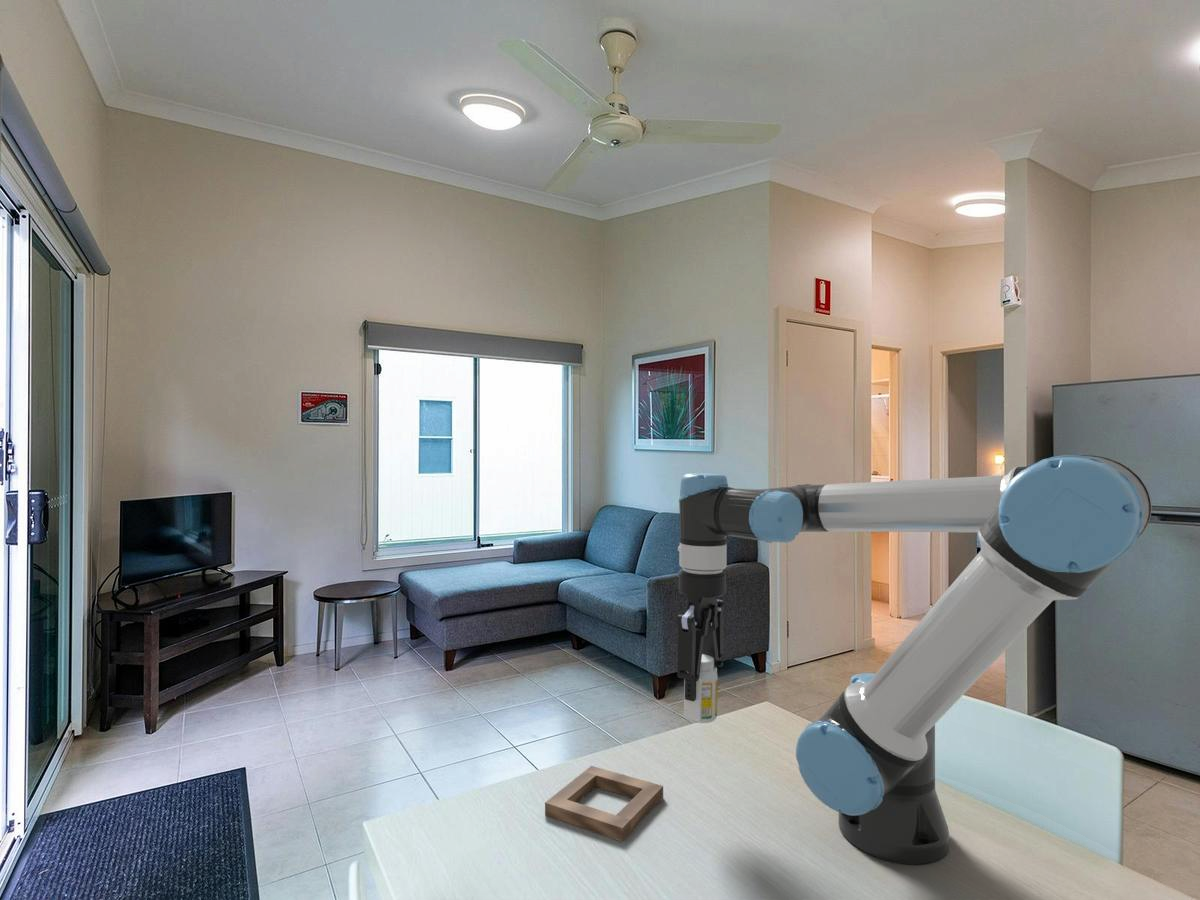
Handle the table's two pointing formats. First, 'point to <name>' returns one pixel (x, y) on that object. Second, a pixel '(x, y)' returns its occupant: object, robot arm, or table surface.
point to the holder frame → (599, 821)
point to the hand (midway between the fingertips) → (700, 711)
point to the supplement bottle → (708, 690)
